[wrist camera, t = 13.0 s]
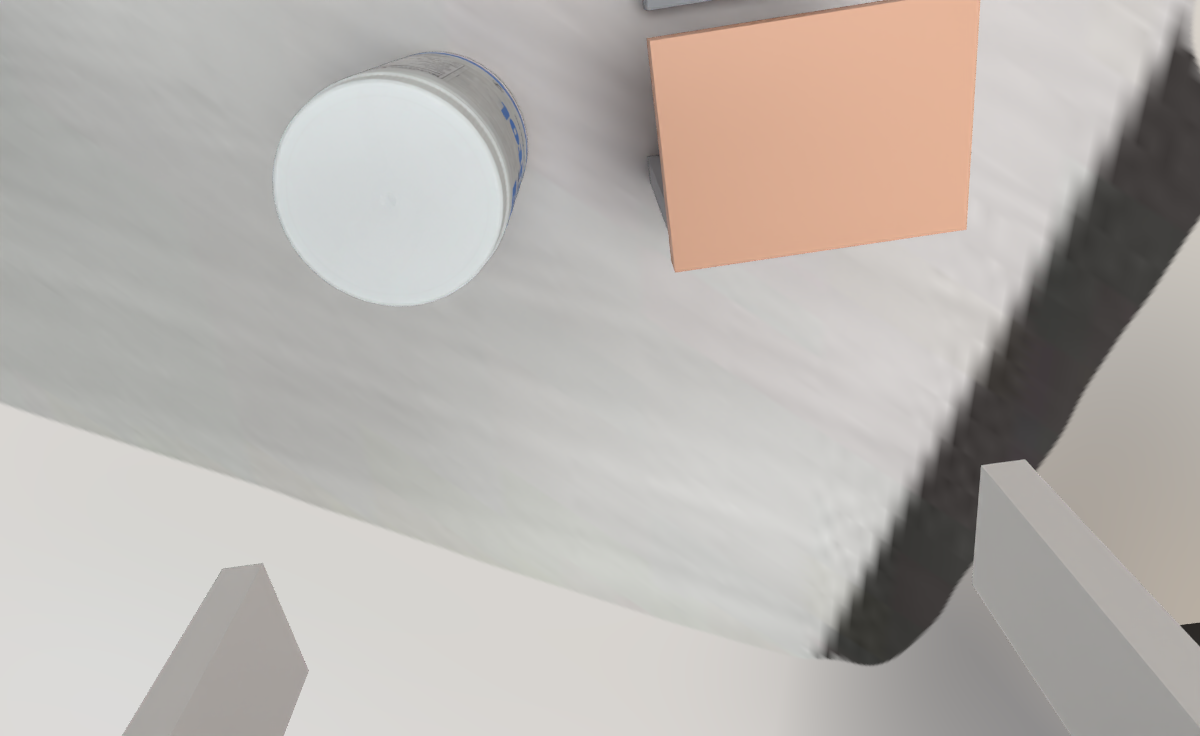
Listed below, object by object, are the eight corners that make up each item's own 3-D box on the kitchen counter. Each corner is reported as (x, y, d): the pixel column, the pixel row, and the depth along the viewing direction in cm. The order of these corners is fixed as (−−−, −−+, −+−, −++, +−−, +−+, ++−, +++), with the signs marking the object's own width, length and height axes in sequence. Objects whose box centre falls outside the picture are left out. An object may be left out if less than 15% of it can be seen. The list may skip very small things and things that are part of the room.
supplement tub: (543, 207, 47) (530, 297, 34) (386, 234, 47) (313, 332, 34) (508, 32, 43) (478, 55, 29) (336, 62, 43) (230, 99, 30)
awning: (646, 187, 46) (675, 272, 33) (626, 21, 42) (649, 41, 29) (852, 156, 46) (966, 229, 32) (851, -15, 42) (980, -12, 28)
